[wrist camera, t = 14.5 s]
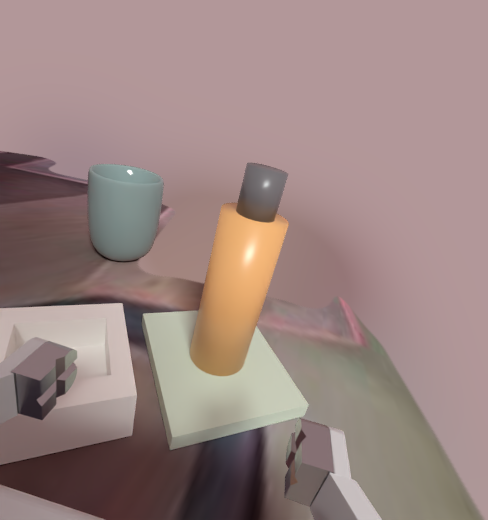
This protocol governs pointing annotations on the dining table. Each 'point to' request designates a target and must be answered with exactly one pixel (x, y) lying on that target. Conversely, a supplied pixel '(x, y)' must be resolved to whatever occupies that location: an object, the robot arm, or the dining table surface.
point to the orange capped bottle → (239, 272)
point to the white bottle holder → (84, 386)
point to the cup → (123, 210)
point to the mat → (214, 385)
